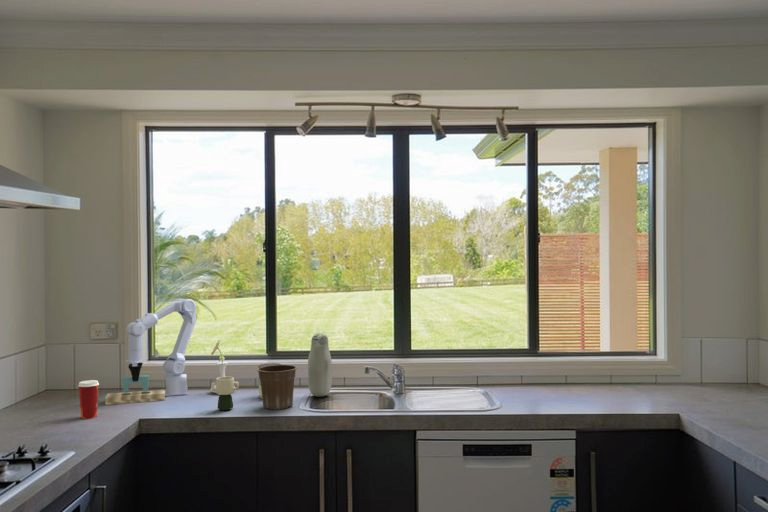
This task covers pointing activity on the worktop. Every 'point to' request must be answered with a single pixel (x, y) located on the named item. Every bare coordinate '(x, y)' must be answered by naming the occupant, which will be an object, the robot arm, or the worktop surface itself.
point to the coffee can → (259, 379)
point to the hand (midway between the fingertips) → (135, 380)
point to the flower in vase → (220, 364)
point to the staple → (129, 380)
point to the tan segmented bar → (135, 397)
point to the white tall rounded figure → (319, 366)
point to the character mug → (225, 391)
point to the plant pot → (277, 385)
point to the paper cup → (88, 398)
